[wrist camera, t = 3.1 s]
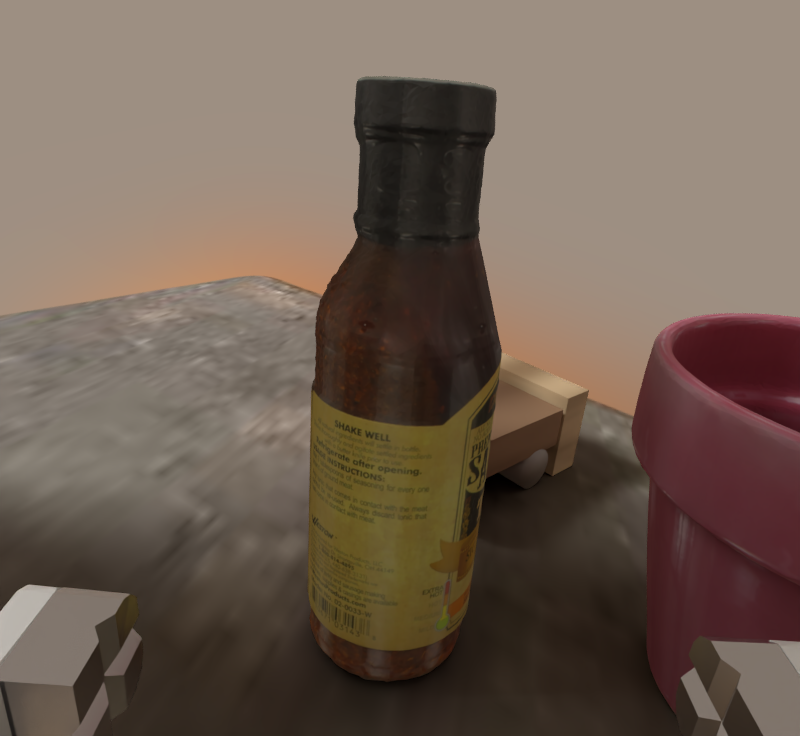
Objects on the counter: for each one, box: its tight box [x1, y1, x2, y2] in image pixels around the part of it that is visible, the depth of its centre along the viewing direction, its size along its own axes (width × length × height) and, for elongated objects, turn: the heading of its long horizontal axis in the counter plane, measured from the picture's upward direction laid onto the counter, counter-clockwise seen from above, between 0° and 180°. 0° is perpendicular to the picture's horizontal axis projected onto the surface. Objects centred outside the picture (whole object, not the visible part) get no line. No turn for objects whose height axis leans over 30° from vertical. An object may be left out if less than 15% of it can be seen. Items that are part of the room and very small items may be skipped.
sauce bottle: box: [308, 76, 502, 682], centre depth 21 cm, size 6×6×20 cm
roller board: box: [486, 353, 589, 489], centre depth 36 cm, size 9×11×5 cm
